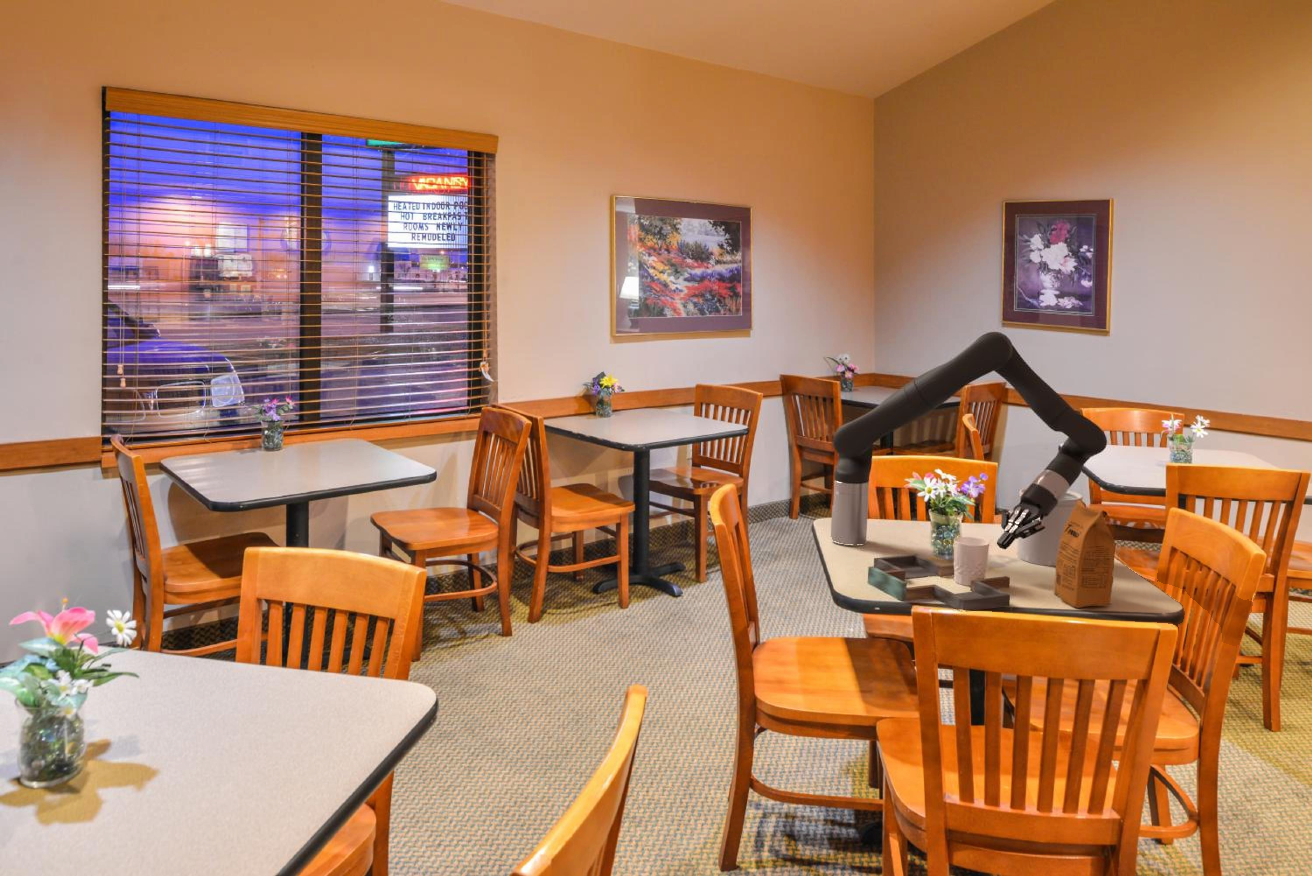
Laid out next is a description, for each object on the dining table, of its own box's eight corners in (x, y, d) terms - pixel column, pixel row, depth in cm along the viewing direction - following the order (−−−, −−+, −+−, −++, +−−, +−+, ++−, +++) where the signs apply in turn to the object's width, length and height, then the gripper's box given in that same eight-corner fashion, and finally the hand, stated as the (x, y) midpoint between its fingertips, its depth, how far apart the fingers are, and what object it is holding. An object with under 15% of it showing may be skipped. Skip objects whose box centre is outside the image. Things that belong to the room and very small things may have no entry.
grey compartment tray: (844, 571, 224) (845, 555, 223) (944, 560, 234) (945, 545, 233) (929, 616, 192) (930, 597, 192) (1041, 601, 202) (1042, 584, 202)
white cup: (964, 588, 211) (966, 546, 210) (944, 578, 219) (947, 538, 217) (993, 586, 213) (996, 544, 212) (973, 576, 221) (976, 536, 219)
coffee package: (1090, 592, 210) (1098, 498, 206) (1116, 610, 197) (1125, 511, 194) (1047, 591, 210) (1054, 497, 206) (1069, 609, 198) (1077, 510, 194)
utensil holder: (1087, 568, 229) (1093, 499, 226) (1027, 567, 229) (1032, 498, 226) (1062, 551, 243) (1067, 487, 241) (1006, 550, 244) (1010, 486, 241)
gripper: (1017, 477, 225) (973, 530, 223) (1057, 488, 213) (1011, 543, 210) (1033, 497, 227) (990, 549, 225) (1073, 508, 215) (1028, 564, 213)
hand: (1000, 546), depth 218 cm, fingers closed
